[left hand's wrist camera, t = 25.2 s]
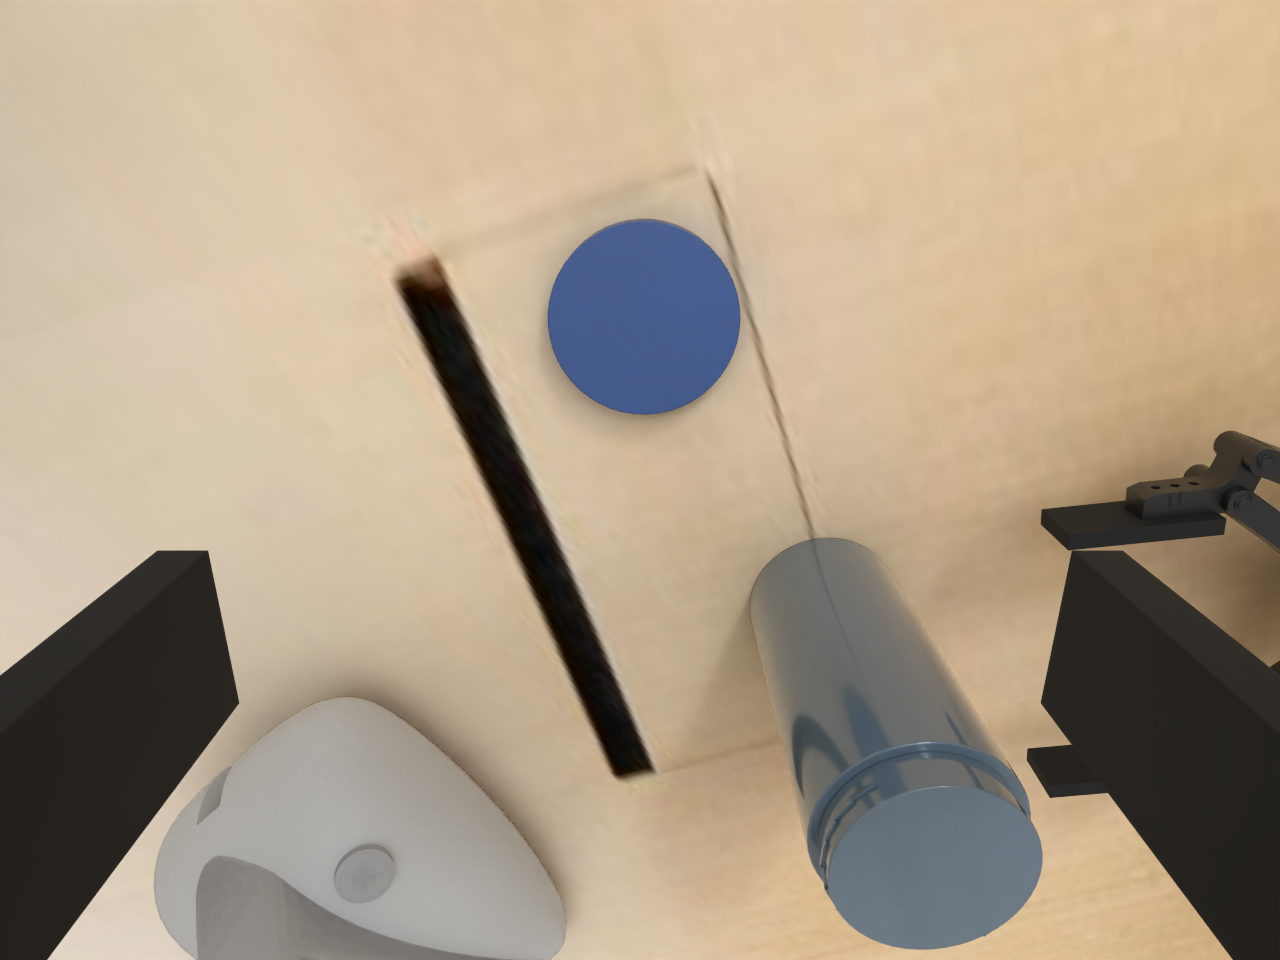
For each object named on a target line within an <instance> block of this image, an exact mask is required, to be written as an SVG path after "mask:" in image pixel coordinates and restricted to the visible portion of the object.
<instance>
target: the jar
mask: <svg viewBox="0 0 1280 960" xmlns="http://www.w3.org/2000/svg"><path fill="white" fill-rule="evenodd" d="M750 616H751V621H752V625H753V630H754V634H755V638H756V642H757V646H758V650H759V654H760V658H761V662H762V666H763V670H764V674H765V678H766V682H767V687H768V691H769V695H770V699H771V703H772V707H773V711H774V715H775V719H776V723H777V727H778V731H779V735H780V739H781V744H782V748H783V752H784V756H785V760H786V764H787V768H788V772H789V776H790V780H791V784H792V788H793V792H794V796H795V801H796V805H797V809H798V813H799V817H800V821H801V825H802V829H803V833H804V837H805V841H806V845H807V849H808V853H809V856H810V860H811V863H812V865H813V867H814V869H815V871H816V873H817V874H818V876H819V877H820V878H821V880H822V881H823V883H824V888H825V891H826V892H827V894H828V896H829V897H830V899H831V900H832V902H833V904H834V905H835V907H836V910H837V911H838V912H839V913H840V915H841V916H842V917H843V919H844V920H845V921H846V922H847V923H848V924H849V925H850V926H852V927H853V928H854V929H855V930H857V931H858V932H859V933H861V934H863V935H865V936H866V937H868V938H870V939H872V940H875V941H877V942H880V943H882V944H886V945H889V946H893V947H899V948H904V949H916V950H926V949H939V948H946V947H951V946H956V945H960V944H963V943H966V942H969V941H972V940H975V939H977V938H979V937H982V936H986V935H987V934H989V933H990V932H992V931H993V930H995V929H997V928H998V927H1000V926H1001V925H1003V924H1004V923H1006V922H1007V921H1008V920H1009V919H1010V918H1012V917H1013V916H1014V915H1015V914H1016V913H1017V912H1018V911H1019V910H1020V909H1021V908H1022V907H1023V906H1024V904H1025V903H1026V902H1027V900H1028V899H1029V898H1030V896H1031V895H1032V893H1033V891H1034V889H1035V887H1036V885H1037V883H1038V880H1039V877H1040V874H1041V868H1042V847H1041V841H1040V838H1039V836H1038V833H1037V830H1036V829H1035V827H1034V825H1033V824H1032V822H1031V811H1030V805H1029V800H1028V797H1027V795H1026V792H1025V789H1024V788H1023V786H1022V784H1021V782H1020V781H1019V779H1018V777H1017V776H1016V774H1015V773H1014V771H1013V769H1012V768H1011V766H1010V764H1009V763H1008V761H1007V760H1006V758H1005V756H1004V755H1003V753H1002V752H1001V750H1000V748H999V747H998V745H997V743H996V742H995V740H994V739H993V737H992V735H991V734H990V732H989V731H988V729H987V727H986V726H985V724H984V722H983V721H982V719H981V718H980V716H979V714H978V713H977V711H976V710H975V708H974V706H973V705H972V703H971V701H970V700H969V698H968V697H967V695H966V693H965V692H964V690H963V689H962V687H961V685H960V684H959V682H958V680H957V679H956V677H955V676H954V674H953V672H952V671H951V669H950V668H949V666H948V664H947V663H946V661H945V659H944V658H943V656H942V655H941V653H940V651H939V650H938V648H937V647H936V645H935V643H934V642H933V640H932V638H931V637H930V635H929V634H928V632H927V630H926V629H925V627H924V626H923V624H922V622H921V621H920V619H919V617H918V616H917V614H916V613H915V611H914V609H913V608H912V606H911V605H910V603H909V601H908V600H907V598H906V596H905V595H904V593H903V592H902V590H901V588H900V587H899V585H898V584H897V582H896V580H895V579H894V577H893V575H892V574H891V572H890V571H889V569H888V567H887V566H886V565H885V563H884V562H883V561H882V560H881V559H880V558H879V557H878V556H877V555H876V554H875V553H873V552H872V551H871V550H869V549H868V548H866V547H864V546H862V545H860V544H857V543H854V542H852V541H848V540H843V539H835V538H821V539H814V540H809V541H806V542H802V543H799V544H797V545H794V546H792V547H790V548H788V549H787V550H785V551H783V552H782V553H780V554H779V555H777V556H776V557H775V558H774V559H773V560H772V561H771V562H769V564H768V565H767V566H766V567H765V568H764V569H763V571H762V572H761V574H760V575H759V577H758V579H757V581H756V583H755V585H754V588H753V591H752V594H751V600H750Z"/></svg>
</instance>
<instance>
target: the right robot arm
mask: <svg viewBox="0 0 1280 960" xmlns="http://www.w3.org/2000/svg"><path fill="white" fill-rule="evenodd" d="M1214 451H1215V453H1216V454H1217V455H1216V457H1215V459H1214V461H1213V463H1212V465H1211V466H1210V468H1209V467H1207V466H1205V465H1194V466H1192V467H1190V468H1189V469H1188V470H1187V471H1186V472H1185V474H1184V477H1183V478H1176V479H1167V480H1157V481H1148V482H1139V483H1137V484H1134V485H1132V486H1130V487H1128V488H1127V492H1126V501H1118V502H1109V503H1099V504H1090V505H1080V506H1070V507H1061V508H1051V509H1042V513H1041V525H1042V526H1043V527H1044V528H1045V529H1046V530H1047V531H1048V532H1049V533H1051V534H1052V535H1053V536H1054V537H1055V538H1056V539H1057V540H1058V541H1059V542H1060V543H1061V544H1062V545H1063V546H1064V547H1065V548H1066V549H1067V550H1076V549H1086V548H1096V547H1106V546H1116V545H1126V544H1135V543H1145V542H1155V541H1165V540H1175V539H1185V538H1195V537H1205V536H1215V535H1224V531H1225V524H1226V518H1225V517H1223V516H1221V515H1220V514H1218V513H1225V514H1227V515H1228V516H1229V517H1231V518H1232V519H1234V520H1235V521H1236V522H1238V523H1239V524H1240V525H1242V526H1243V527H1245V528H1246V529H1247V530H1249V531H1250V532H1252V533H1253V534H1254V535H1256V536H1257V537H1258V538H1260V539H1261V540H1263V541H1264V542H1265V543H1267V544H1268V545H1270V546H1271V547H1272V548H1274V549H1275V550H1276V551H1278V552H1279V553H1280V512H1279V511H1278V510H1276V509H1275V508H1274V507H1272V506H1271V505H1270V504H1268V503H1267V502H1266V501H1264V500H1263V499H1261V498H1260V497H1259V496H1257V495H1256V494H1255V493H1253V492H1254V490H1255V488H1256V486H1257V484H1258V482H1259V481H1260V479H1261V477H1263V478H1265V479H1268V480H1271V481H1273V482H1276V483H1279V484H1280V448H1278V447H1276V446H1273V445H1270V444H1268V443H1265V442H1262V441H1260V440H1257V439H1254V438H1252V437H1249V436H1246V435H1244V434H1241V433H1238V432H1236V431H1227V432H1224V433H1222V434H1220V435H1219V436H1218V437H1217V438H1216V440H1215V442H1214ZM1270 668H1271V669H1272V670H1273V671H1275V672H1276V673H1277V674H1278V675H1280V661H1278V662H1277V663H1275V664H1274V665H1272V666H1271V667H1270ZM1027 761H1028V763H1029V765H1030V766H1031V768H1032V769H1033V771H1034V773H1035V774H1036V776H1037V777H1038V779H1039V781H1040V782H1041V784H1042V786H1043V787H1044V789H1045V790H1046V792H1047V794H1048V795H1049V797H1050V798H1053V797H1065V796H1077V795H1089V794H1101V793H1108V792H1107V791H1106V789H1105V788H1104V787H1103V785H1102V784H1101V783H1100V781H1099V780H1098V779H1097V777H1096V776H1095V775H1094V773H1093V772H1092V771H1091V769H1090V768H1089V767H1088V765H1087V764H1086V763H1085V761H1084V760H1083V759H1082V757H1081V756H1080V755H1079V753H1078V752H1077V751H1076V749H1075V748H1074V747H1073V745H1064V746H1052V747H1041V748H1029V749H1028V750H1027Z"/></svg>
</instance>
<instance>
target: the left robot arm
mask: <svg viewBox="0 0 1280 960" xmlns="http://www.w3.org/2000/svg"><path fill="white" fill-rule="evenodd" d="M238 704H239V700H238V695H237V690H236V685H235V680H234V675H233V670H232V665H231V661H230V656H229V651H228V646H227V641H226V636H225V631H224V626H223V622H222V617H221V612H220V607H219V602H218V597H217V592H216V587H215V582H214V578H213V573H212V568H211V563H210V558H209V553H208V551H157V552H155V553H154V554H153V555H151V556H150V557H149V558H148V559H146V560H145V561H144V562H143V563H141V564H140V565H139V566H138V567H136V568H135V569H134V570H133V571H131V572H130V573H129V574H128V575H126V576H125V577H124V578H123V579H121V580H120V581H119V582H117V583H116V584H115V585H114V586H112V587H111V588H110V589H109V590H107V591H106V592H105V593H104V594H102V595H101V596H100V597H99V598H97V599H96V600H95V601H94V602H92V603H91V604H90V605H89V606H87V607H86V608H85V609H83V610H82V611H81V612H80V613H78V614H77V615H76V616H75V617H73V618H72V619H71V620H70V621H68V622H67V623H66V624H65V625H63V626H62V627H61V628H60V629H58V630H57V631H56V632H55V633H53V634H52V635H51V636H49V637H48V638H47V639H46V640H44V641H43V642H42V643H41V644H39V645H38V646H37V647H36V648H34V649H33V650H32V651H31V652H29V653H28V654H27V655H26V656H24V657H23V658H22V659H21V660H19V661H18V662H17V663H15V664H14V665H13V666H12V667H10V668H9V669H8V670H7V671H5V672H4V673H3V674H2V675H0V960H47V959H48V958H49V956H50V955H51V954H52V952H53V951H54V950H55V948H56V947H57V946H58V944H59V943H60V942H61V940H62V939H63V938H64V936H65V935H66V934H67V932H68V931H69V930H70V928H71V927H72V926H73V924H74V923H75V922H76V920H77V919H78V918H79V916H80V915H81V914H82V912H83V911H84V910H85V908H86V907H87V906H88V904H89V903H90V902H91V900H92V899H93V898H94V896H95V895H96V894H97V892H98V891H99V890H100V888H101V887H102V886H103V884H104V883H105V882H106V880H107V879H108V878H109V876H110V875H111V874H112V872H113V871H114V870H115V868H116V867H117V866H118V864H119V863H120V862H121V860H122V859H123V858H124V856H125V855H126V854H127V852H128V851H129V850H130V848H131V847H132V846H133V844H134V843H135V842H136V840H137V839H138V838H139V836H140V835H141V834H142V832H143V831H144V830H145V828H146V827H147V826H148V824H149V823H150V822H151V820H152V819H153V818H154V816H155V815H156V814H157V812H158V811H159V810H160V808H161V807H162V806H163V804H164V803H165V802H166V800H167V799H168V798H169V796H170V795H171V793H172V792H173V791H174V789H175V788H176V787H177V785H178V784H179V783H180V781H181V780H182V779H183V777H184V776H185V775H186V773H187V772H188V771H189V769H190V768H191V767H192V765H193V764H194V763H195V761H196V760H197V759H198V757H199V756H200V755H201V753H202V752H203V751H204V749H205V748H206V747H207V745H208V744H209V743H210V741H211V740H212V739H213V737H214V736H215V735H216V733H217V732H218V731H219V729H220V728H221V727H222V725H223V724H224V723H225V721H226V720H227V719H228V717H229V716H230V715H231V713H232V712H233V711H234V709H235V708H236V707H237V705H238ZM1041 704H1042V705H1043V707H1044V708H1045V709H1046V711H1047V712H1048V713H1049V715H1050V716H1051V717H1052V719H1053V720H1054V721H1055V723H1056V724H1057V725H1058V727H1059V728H1060V729H1061V731H1062V732H1063V733H1064V735H1065V736H1066V737H1067V739H1068V740H1069V741H1070V743H1071V744H1072V745H1073V747H1074V748H1075V749H1076V751H1077V752H1078V753H1079V755H1080V756H1081V757H1082V759H1083V760H1084V761H1085V763H1086V764H1087V765H1088V767H1089V768H1090V769H1091V771H1092V772H1093V773H1094V775H1095V776H1096V777H1097V779H1098V780H1099V781H1100V783H1101V784H1102V785H1103V787H1104V788H1105V789H1106V791H1107V792H1108V793H1109V795H1110V796H1111V798H1112V799H1113V800H1114V802H1115V803H1116V804H1117V806H1118V807H1119V808H1120V810H1121V811H1122V812H1123V814H1124V815H1125V816H1126V818H1127V819H1128V820H1129V822H1130V823H1131V824H1132V826H1133V827H1134V828H1135V830H1136V831H1137V832H1138V834H1139V835H1140V836H1141V838H1142V839H1143V840H1144V842H1145V843H1146V844H1147V846H1148V847H1149V848H1150V850H1151V851H1152V852H1153V854H1154V855H1155V856H1156V858H1157V859H1158V860H1159V862H1160V863H1161V864H1162V866H1163V867H1164V868H1165V870H1166V871H1167V872H1168V874H1169V875H1170V876H1171V878H1172V879H1173V880H1174V882H1175V883H1176V884H1177V886H1178V887H1179V888H1180V890H1181V891H1182V892H1183V894H1184V895H1185V896H1186V898H1187V899H1188V900H1189V902H1190V903H1191V904H1192V906H1193V907H1194V908H1195V910H1196V911H1197V912H1198V914H1199V915H1200V916H1201V918H1202V919H1203V920H1204V922H1205V923H1206V924H1207V926H1208V927H1209V928H1210V930H1211V931H1212V932H1213V934H1214V935H1215V936H1216V938H1217V939H1218V940H1219V942H1220V943H1221V944H1222V946H1223V947H1224V948H1225V950H1226V951H1227V952H1228V954H1229V955H1230V956H1231V958H1232V959H1233V960H1280V675H1278V674H1277V673H1276V672H1275V671H1273V670H1272V669H1271V668H1270V667H1268V666H1267V665H1266V664H1265V663H1263V662H1262V661H1261V660H1259V659H1258V658H1257V657H1256V656H1254V655H1253V654H1252V653H1251V652H1249V651H1248V650H1247V649H1246V648H1244V647H1243V646H1242V645H1241V644H1239V643H1238V642H1237V641H1236V640H1234V639H1233V638H1232V637H1231V636H1229V635H1228V634H1227V633H1225V632H1224V631H1223V630H1222V629H1220V628H1219V627H1218V626H1217V625H1215V624H1214V623H1213V622H1212V621H1210V620H1209V619H1208V618H1207V617H1205V616H1204V615H1203V614H1202V613H1200V612H1199V611H1198V610H1197V609H1195V608H1194V607H1193V606H1191V605H1190V604H1189V603H1188V602H1186V601H1185V600H1184V599H1183V598H1181V597H1180V596H1179V595H1178V594H1176V593H1175V592H1174V591H1173V590H1171V589H1170V588H1169V587H1168V586H1166V585H1165V584H1164V583H1163V582H1161V581H1160V580H1159V579H1157V578H1156V577H1155V576H1154V575H1152V574H1151V573H1150V572H1149V571H1147V570H1146V569H1145V568H1144V567H1142V566H1141V565H1140V564H1139V563H1137V562H1136V561H1135V560H1134V559H1132V558H1131V557H1130V556H1129V555H1127V554H1126V553H1125V552H1123V551H1072V553H1071V558H1070V563H1069V568H1068V573H1067V578H1066V582H1065V587H1064V592H1063V597H1062V602H1061V607H1060V612H1059V617H1058V621H1057V626H1056V631H1055V636H1054V641H1053V646H1052V651H1051V656H1050V661H1049V665H1048V670H1047V675H1046V680H1045V685H1044V690H1043V695H1042V700H1041Z"/></svg>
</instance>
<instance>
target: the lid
mask: <svg viewBox="0 0 1280 960" xmlns="http://www.w3.org/2000/svg"><path fill="white" fill-rule="evenodd" d="M548 328H549V335H550V340H551V344H552V347H553V350H554V353H555V355H556V358H557V360H558V362H559V364H560V365H561V367H562V369H563V371H564V372H565V373H566V375H567V376H568V377H569V379H570V380H571V381H572V382H573V383H574V384H575V385H576V386H577V387H578V389H579V390H581V391H582V392H583V393H584V394H586V395H587V396H588V397H590V398H591V399H593V400H595V401H596V402H598V403H599V404H602V405H604V406H606V407H608V408H611V409H614V410H617V411H621V412H626V413H632V414H656V413H662V412H667V411H671V410H674V409H676V408H679V407H682V406H684V405H686V404H688V403H690V402H692V401H693V400H695V399H696V398H698V397H699V396H701V395H702V394H704V393H705V392H706V391H707V390H708V389H709V388H710V387H712V385H713V384H714V383H715V382H716V381H717V380H718V379H719V378H720V376H721V375H722V373H723V372H724V370H725V369H726V367H727V365H728V363H729V362H730V360H731V358H732V355H733V353H734V350H735V347H736V344H737V340H738V335H739V328H740V306H739V301H738V295H737V292H736V289H735V286H734V282H733V280H732V278H731V276H730V274H729V272H728V270H727V268H726V267H725V265H724V264H723V262H722V261H721V259H720V258H719V257H718V256H717V255H716V253H715V252H714V251H713V250H712V249H711V248H710V247H709V246H708V245H707V244H706V243H705V242H704V241H703V240H702V239H700V238H699V237H698V236H696V235H695V234H693V233H692V232H690V231H688V230H686V229H684V228H682V227H680V226H678V225H675V224H672V223H669V222H666V221H660V220H654V219H635V220H627V221H623V222H619V223H616V224H613V225H610V226H608V227H605V228H603V229H602V230H600V231H598V232H596V233H594V234H593V235H592V236H590V237H589V238H588V239H586V240H585V241H584V242H583V243H582V244H581V245H580V246H579V247H578V248H577V249H576V250H575V251H574V252H573V253H572V255H571V256H570V257H569V259H568V260H567V261H566V262H565V264H564V265H563V267H562V269H561V271H560V272H559V274H558V276H557V278H556V281H555V283H554V286H553V289H552V293H551V296H550V301H549V308H548Z"/></svg>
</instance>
